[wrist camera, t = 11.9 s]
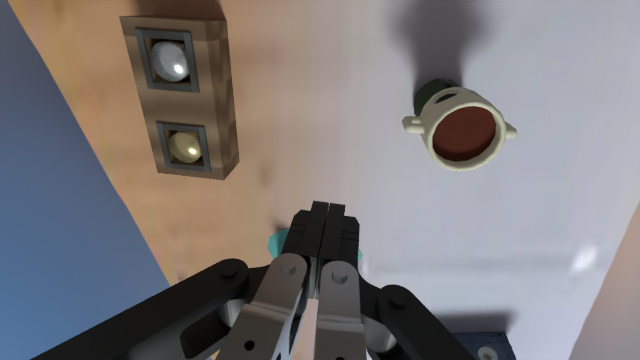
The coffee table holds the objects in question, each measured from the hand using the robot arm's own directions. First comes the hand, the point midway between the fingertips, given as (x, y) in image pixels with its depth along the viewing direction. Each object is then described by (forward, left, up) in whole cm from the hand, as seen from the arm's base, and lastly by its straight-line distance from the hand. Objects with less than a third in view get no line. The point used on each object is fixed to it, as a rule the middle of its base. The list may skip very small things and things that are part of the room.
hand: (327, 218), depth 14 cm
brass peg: (+9, -22, -30) cm, 38 cm away
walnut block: (+3, -22, -30) cm, 37 cm away
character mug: (+1, +11, -30) cm, 32 cm away
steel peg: (-2, -22, -30) cm, 37 cm away
